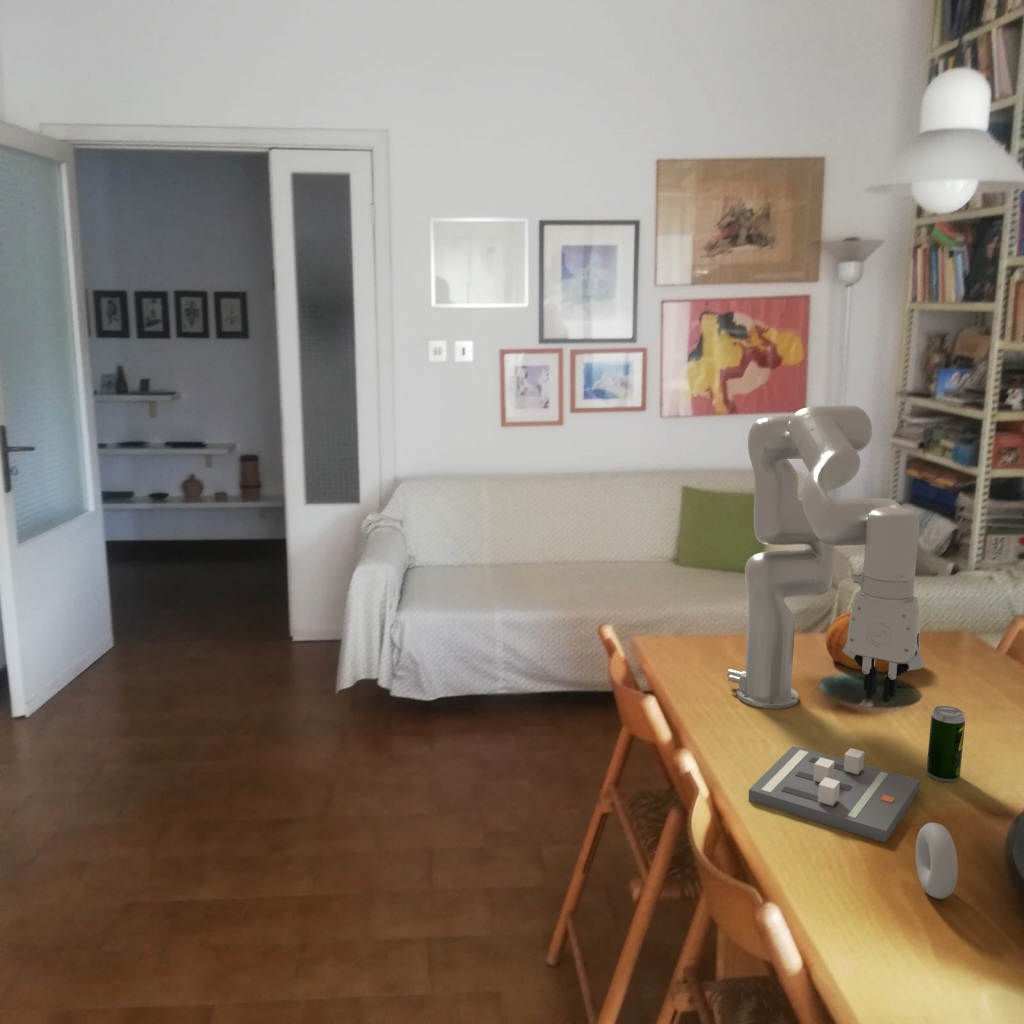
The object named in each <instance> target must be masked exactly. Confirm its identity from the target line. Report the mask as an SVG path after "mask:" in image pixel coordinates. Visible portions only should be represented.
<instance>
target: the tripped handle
mask: <svg viewBox="0 0 1024 1024" xmlns="http://www.w3.org/2000/svg"><path fill="white" fill-rule="evenodd" d="M834 763H835V761H832V760H829V759H825V758H821V757H820V758H819V759H818V761H817V762H816V763H815V764H814V778H813V781H817V782H820V783H821V781H822V780H823V779H824V778H825V777H826V778H830V779H833V778H834Z"/></svg>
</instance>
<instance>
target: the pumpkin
mask: <svg viewBox="0 0 1024 1024" xmlns="http://www.w3.org/2000/svg"><path fill="white" fill-rule="evenodd" d="M850 617H851V611H849V612H846V613H843V614H841V615H839V616H838V617H836V618H835V619H834V620H833V622H832V623H831V624H830V625H829V626H828V628H827V630H826V633H825V644H826V645H825V646H826V650H827V653H828V654H829V656H830V657H831V658H832V660H834V661H835V662H837V663H839V664H841V665H844V666H846V667H849V668H852V669H855V670H861V671H862V668H861V667H860V666H859V665H858V663H857V662H856V661H855V659H853V658H851V657H849V656H848V655H846V654H844V653H843V648H844V646H845V645H846V643H847V637H848V629H849V623H850ZM875 668H876V670H877V671H878V673H879V672H880V673H882V672H889V662H888V661H883V660H878V659H875Z"/></svg>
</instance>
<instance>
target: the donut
mask: <svg viewBox="0 0 1024 1024" xmlns="http://www.w3.org/2000/svg"><path fill="white" fill-rule="evenodd" d="M915 864H916V866H915V867H916V871H917V876H918V878H919V879H918V880H919V882H920V884H921V887H922V888H923V889H924V892H926V894H927V895H929V896H930V897H931V898H932V897H933V898H935V899H939V900H942V899H943V900H944V899H945V898H947V897H949V896H951V894H952V893H953V892H954V891H955V888H956V885H957V881H958V872H959V870H958V869H959V867H958V865H959V864H958V855H957V849H956V845H955V842H954V839H953V837H952V835H951V833H950V832H949V830H948V829H947V828H946V827H945V826H944V825H943V824H941V823H937V822H927V823H925V824H923V826H922V827H921V828H920V830H919V831H918V834H917V837H916V842H915Z"/></svg>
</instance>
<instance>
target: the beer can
mask: <svg viewBox="0 0 1024 1024" xmlns="http://www.w3.org/2000/svg"><path fill="white" fill-rule="evenodd" d="M965 727H966V717H965V712H964V711H963V710H962V709H960V708H958V707H954V706H950V705H949V706H948V705H938V706H935V707H933V709H932V712H931V715H930V727H929V728H930V729H929V739H928V747H927V748H928V750H927V752H928V753H927V759H926V760H927V761H926V762H927V763H926V771H927V774H928V776H929V777H930V778H932V779H934V780H936V781H938V782H942V783H954V782H956V781H958V780H959V778H960V777H961V769H962V756H963V748H964V739H965V738H964V737H965Z"/></svg>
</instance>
